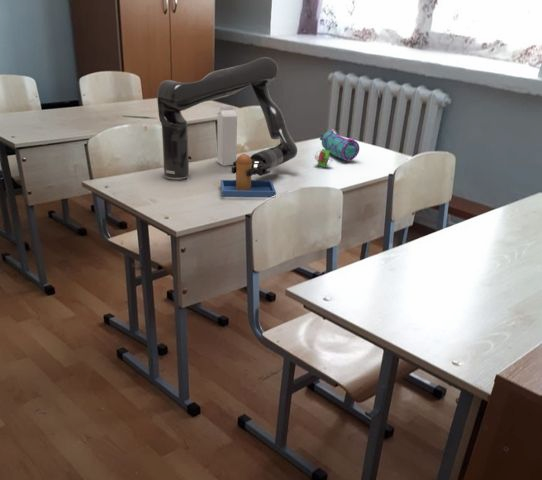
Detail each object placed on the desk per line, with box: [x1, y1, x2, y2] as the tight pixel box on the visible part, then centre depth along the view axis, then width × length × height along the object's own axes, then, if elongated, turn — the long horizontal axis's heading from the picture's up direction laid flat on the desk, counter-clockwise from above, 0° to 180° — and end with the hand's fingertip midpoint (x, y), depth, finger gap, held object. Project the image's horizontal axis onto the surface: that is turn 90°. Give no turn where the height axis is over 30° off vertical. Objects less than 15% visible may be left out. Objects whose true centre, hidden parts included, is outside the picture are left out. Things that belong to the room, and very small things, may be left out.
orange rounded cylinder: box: [235, 153, 252, 191], centre depth 209 cm, size 5×5×13 cm
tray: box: [220, 179, 277, 198], centre depth 212 cm, size 13×19×3 cm
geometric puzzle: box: [314, 148, 333, 168], centre depth 245 cm, size 7×7×8 cm
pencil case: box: [319, 129, 360, 162], centre depth 259 cm, size 21×9×10 cm, turn 24°
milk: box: [216, 105, 238, 167], centre depth 237 cm, size 6×6×22 cm
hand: (240, 172), depth 207 cm, fingers closed on orange rounded cylinder, 5 cm apart
